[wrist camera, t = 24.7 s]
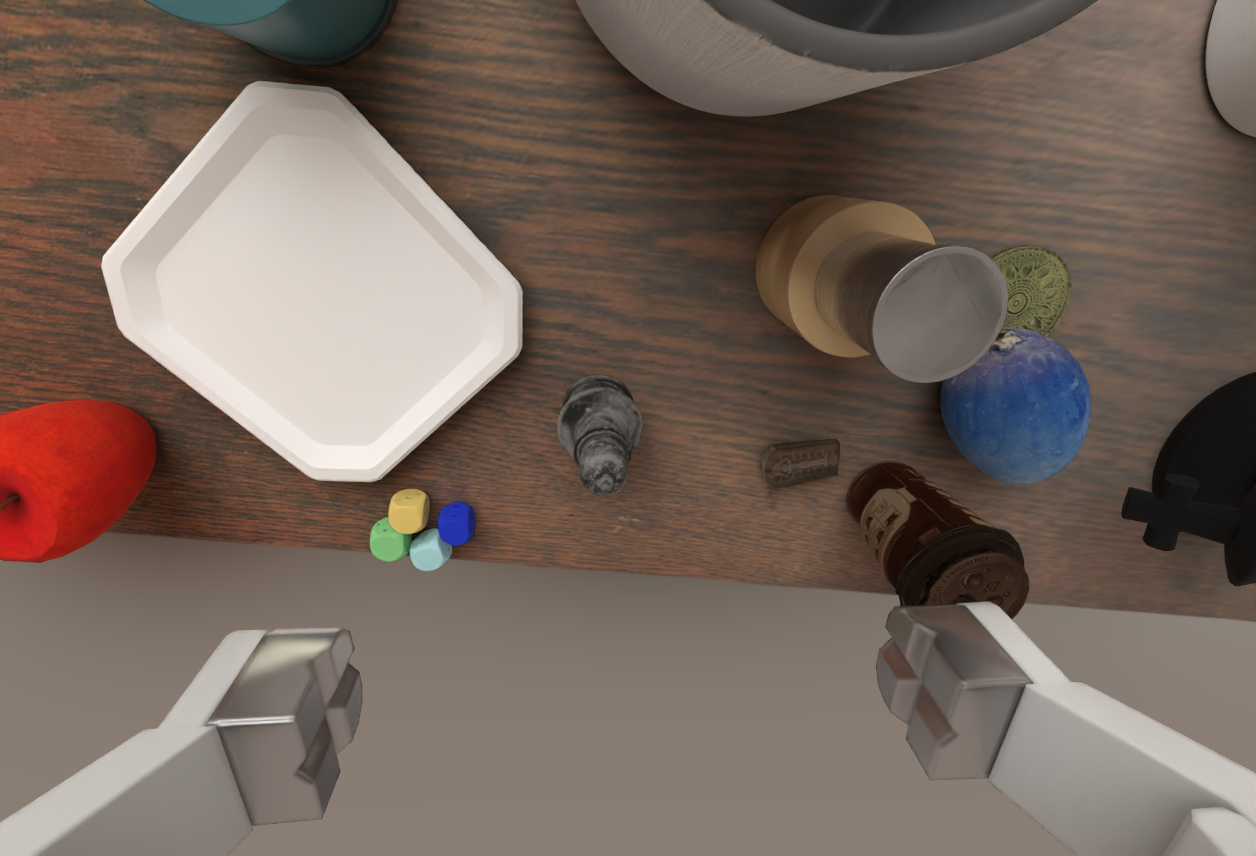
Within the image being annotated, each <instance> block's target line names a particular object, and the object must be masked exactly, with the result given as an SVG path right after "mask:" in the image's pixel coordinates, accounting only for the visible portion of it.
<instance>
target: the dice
mask: <svg viewBox="0 0 1256 856" xmlns="http://www.w3.org/2000/svg"><path fill="white" fill-rule="evenodd" d="M429 506H430V503H429V497H428V496H427V495H426V494H425V493H424V492H423V491H421V490H418V489H405V490H401V491H399V492H397V493H396V494H395V495H393V497H392V499H391V502H390V506H389V514H388V517H386V518H383V519H381V520H379V521H378V522H377V523H376V524H375V525H374V526H373V528H372V531H371V536H370V548H371V552H372V554H373V555H374V556H375V557H377V558H378V559H381V560H383V561H395V560H398V559H400V558H402V557H404V556H405V555H406V554H407V553H408V552H409V551H410V558H411V561H412V563H413V565H414V566H415V567H416V568H418V569H420V570H423V571H432V570H435V569H437V568H439V567H441V566H442V565H444V564H445V563H446V562H447V561H448V559H449V558H450V556H451V554H452V545H461V544H464V543H466V542H468V541H469V540H470V539H471V538H472V537H473V535H474V530H475V516H474V511H473V509H472V507H470V506H469V505H467V504H465V503H462V502H456V503H451V504H449V505H447V506H445V507H444V508H443V509H442V510H441V511H440V514H439V518H438V529H429V530H426V531H424V532H423V533H421V534H420V535H418V536H417V537H416V538H415V539H414V540H413V542H412V533H416V532H418V531H420V530H422V529H423V528H424V527H425V526H426V524H427V521H428V516H429Z"/></svg>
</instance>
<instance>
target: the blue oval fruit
mask: <svg viewBox="0 0 1256 856" xmlns="http://www.w3.org/2000/svg"><path fill="white" fill-rule="evenodd" d="M940 405H941V412H942V417H943V421H944V423H945V427H946V431H947V433H948V434H949V436H950V438H951V440H952V441H953V443H954V445H955V446H956V448H957V449H958V450H959V452H960V453H961V454H962V455H963V456H964V457H965V459H966V460H967V461H968V462H970V463H971V464H972V465H973V466H974V467H976V468H977V469H978V470H979V471H981V472H982V473H984V474H986V475H988V476H989V477H991V478H993V479H995V480H998V481H1001V482H1005V483H1011V484H1023V485H1025V484H1033V483H1037V482H1041V481H1043V480H1045V479H1048V478H1050V477H1052V476H1054V475H1056V474H1057V473H1058V472H1060V471H1061V470H1062V469H1063V468H1065V467H1066V466H1067V465H1068V464H1069V463H1070V462H1071V461H1072V460H1073V458H1074V457H1075V456H1076V454H1077V453H1078V451H1079V449H1080V448H1081V446H1082V444H1083V442H1084V438H1085V436H1086V433H1087V430H1088V427H1089V419H1090V413H1091V410H1090V407H1091V398H1090V392H1089V385H1088V382H1087V379H1086V377H1085V375H1084V373H1083V370H1082V368H1081V366H1080V364H1079V363H1078V362H1077V361H1076V360H1075V359H1074V357H1073V356H1072V355H1071V354H1070V353H1069V351H1068V350H1066V349H1065V348H1064V347H1062V346H1061V345H1060V344H1058V343H1057V342H1055V341H1053V340H1052V339H1050V338H1049V337H1046V336H1043V335H1042V334H1040V333H1039V332H1036V331H1032V330H1027V329H1022V328H1010V329H1001V330H1000V332H999V334H998V336H997V338H996V340H995V341H994V343H993V344H992V345H991V347H990V348H989V350H988V351H987V352H986V353H985V354H984V355H983V356H982V357H981V358H980V359H979V360H978V361H977V362H976V363H975V364H973V365H972V366H971V367H969V368H968V369H966V370H965V371H963V372H961V373H960V374H957V375H955V376H953V377H951V378H948V379H945V380H943V383H942V387H941V394H940Z"/></svg>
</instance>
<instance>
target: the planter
mask: <svg viewBox="0 0 1256 856" xmlns="http://www.w3.org/2000/svg"><path fill="white" fill-rule="evenodd" d="M575 1H576V3H577V5H578V7H579V9H580V10H581V12H582V14H583V15H584V17H585V19H586V20H587V22H588V23H589V25H590V27H591V28H592V29H593V31H594V32H595V34H596V35H597V36H598V38H599V39H600V40H601V42H602V43H603V44H604V45H605V47H606V48H607V49H608V50H609V51H610V53H611V54H612V55H613V56H614V57H615V58H616V59H617V60H618V61H619V62H620V63H621V64H622V65H623V66H624V67H625V68H626V69H627V70H629V71H630V72H631V73H632V74H633V75H634V76H636V77H637V78H638V79H639V80H641V81H642V82H643V83H645V84H646V85H648V86H649V87H650V88H652V89H654V90H655V91H657V92H659V93H660V94H662V95H664V96H666V97H668V98H670V99H672V100H674V101H676V102H678V103H681V104H683V105H686V106H688V107H691V108H694V109H697V110H701V111H705V112H709V113H714V114H720V115H728V116H743V117H751V116H765V115H773V114H779V113H784V112H789V111H793V110H797V109H801V108H804V107H808V106H812V105H815V104H819V103H822V102H826V101H829V100H833V99H836V98H839V97H843V96H846V95H850V94H853V93H857V92H860V91H864V90H867V89H871V88H875V87H878V86H882V85H886V84H889V83H893V82H897V81H901V80H905V79H909V78H912V77H916V76H920V75H924V74H928V73H932V72H936V71H940V70H944V69H948V68H952V67H956V66H959V65H963V64H966V63H970V62H973V61H977V60H980V59H983V58H986V57H989V56H992V55H995V54H997V53H1000V52H1003V51H1005V50H1008V49H1010V48H1013V47H1015V46H1018V45H1020V44H1022V43H1024V42H1026V41H1029V40H1031V39H1033V38H1035V37H1037V36H1039V35H1041V34H1043V33H1045V32H1047V31H1049V30H1051V29H1053V28H1054V27H1056V26H1058V25H1060V24H1062V23H1063V22H1065V21H1067V20H1068V19H1070V18H1072V17H1073V16H1075V15H1077V14H1078V13H1080V12H1081V11H1083V10H1084V9H1086V8H1087V7H1089V6H1090V5H1092V4H1093V3H1095V2H1096V1H1098V0H575Z"/></svg>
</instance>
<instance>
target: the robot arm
mask: <svg viewBox="0 0 1256 856" xmlns="http://www.w3.org/2000/svg"><path fill="white" fill-rule="evenodd" d="M1206 75H1207V82H1208V87H1209V90H1210V94H1211V97H1212V99H1213V102H1214V104H1215V106H1216V108H1217V109H1218V111H1219V112H1220V114H1221V115H1222V117H1223V118H1224V119H1225V120H1226V121H1227V122H1228V123H1229V124H1230V125H1231V126H1233V127H1234V128H1235V129H1237V130H1238V131H1240V132H1242V133H1244V134H1247V135H1250V136H1253V137H1256V0H1217V2H1216V5H1215V8H1214V11H1213V15H1212V18H1211V22H1210V27H1209V32H1208V38H1207V46H1206ZM885 627H886V629H887V630H888V632H889V633H890V635H891V637H892V638H891V639H890V640H888V641H887V642H886V643H885V644H884V645H883V646H882V647H881V648H880V649H879V654H878V659H877V663H876V670H877V679H878V685H879V688H880V691H881V694H882V697H883V699H884V701H885V703H886V705H887V706H888V708H889V710H890V712H891V713H892V714H894V715H895V716H896V717H898V718H899V719H901V720H902V721H903V722H905V723H906V724H908V729H907V735H906V740H907V742H908V743H909V745H910V747H911V749H912V750H913V752H914V754H915V755H916V757H917V758H918V761H919V762H920V764H921V766H922V767H923V769H924V771H925V773H926V774H927V776H928V778H929V779H930V780H952V779H983V778H988V782H989V783H990V784H991V785H992V786H993V787H994V788H996V789H997V790H998V791H999V792H1000V793H1002V794H1003V795H1004V796H1005V797H1006V798H1008V799H1009V800H1010V801H1011V802H1012V803H1014V804H1015V805H1016V806H1017V807H1019V808H1020V809H1021V810H1022V811H1023V812H1024V813H1026V814H1027V815H1028V816H1029V817H1030V818H1031V819H1033V820H1034V821H1035V822H1036V823H1037V824H1039V825H1040V826H1041V827H1042V828H1043V829H1045V830H1046V831H1047V832H1048V833H1049V834H1051V835H1052V836H1053V837H1054V838H1055V839H1057V840H1058V841H1059V842H1060V843H1061V844H1063V845H1064V846H1065V847H1066V848H1067V849H1069V850H1070V851H1071V852H1072V853H1073V854H1075V855H1076V856H1256V773H1254V772H1252V771H1250V770H1248V769H1247V768H1245V767H1243V766H1241V765H1239V764H1237V763H1235V762H1233V761H1231V760H1229V759H1228V758H1226V757H1224V756H1222V755H1220V754H1218V753H1216V752H1214V751H1212V750H1211V749H1209V748H1207V747H1205V746H1203V745H1201V744H1199V743H1197V742H1195V741H1193V740H1192V739H1190V738H1188V737H1186V736H1184V735H1182V734H1180V733H1178V732H1176V731H1174V730H1172V729H1170V728H1168V727H1167V726H1165V725H1163V724H1161V723H1159V722H1157V721H1155V720H1153V719H1151V718H1149V717H1148V716H1146V715H1144V714H1142V713H1140V712H1138V711H1136V710H1134V709H1133V708H1130V707H1129V706H1127V705H1125V704H1123V703H1121V702H1119V701H1117V700H1115V699H1113V698H1112V697H1109V696H1108V695H1106V694H1104V693H1102V692H1100V691H1098V690H1096V689H1094V688H1092V687H1091V686H1089V685H1087V684H1085V683H1083V682H1071V681H1070V680H1069V679H1068V678H1067V677H1066V676H1065V675H1064V674H1063V673H1062V672H1061V671H1060V670H1059V669H1058V668H1057V666H1056V665H1055V664H1054V663H1053V662H1052V661H1051V660H1050V659H1049V658H1048V657H1047V656H1046V655H1045V654H1044V653H1043V652H1042V651H1041V650H1040V649H1039V648H1038V647H1037V646H1036V645H1035V644H1034V642H1032V640H1031V639H1030V638H1029V637H1028V636H1027V635H1026V634H1025V633H1024V632H1023V631H1022V630H1021V629H1020V628H1019V627H1018V626H1017V625H1016V624H1015V623H1014V622H1013V621H1012V620H1011V619H1010V617H1009V616H1008V615H1007V614H1006V613H1005V612H1004V611H1003V610H1002V609H1001V608H1000V607H999V606H997V605H995V604H993V603H991V602H971V603H957V604H941V605H920V606H898V607H894V608H893V609H892V611H891V612H890V613H889V615H888V619H887V623H886V626H885ZM353 651H354V645H353V642H352V637H351V633H350V631H349V630H347V629H345V628H308V629H307V628H305V629H273V630H236V631H234V632H232V633H231V634H229V635H227V636H226V637H225V638H224V639H223V640H222V642H221V643H220V644H219V646H218V647H217V648H216V650H215V651H214V653H213V654H212V655H211V657H210V658H209V659H208V660H207V662H206V663H205V665H204V666H203V667H202V669H201V670H200V671H199V673H198V674H197V675H196V677H195V678H194V679H193V681H192V682H191V684H190V685H189V686H188V688H187V689H186V690H185V692H184V693H183V694H182V696H181V697H180V699H179V700H178V701H177V703H176V704H175V705H174V707H173V708H172V709H171V711H170V712H169V713H168V715H167V716H166V717H165V719H164V720H163V721H162V723H161V724H160V726H159V727H158V728H157V729H145V730H143V731H141V732H140V733H139V734H137V735H135V736H134V737H132V738H130V739H129V740H127V741H126V742H124V743H123V744H121V745H120V746H118V747H117V748H115V749H113V750H112V751H110V752H109V753H107V754H106V755H104V756H103V757H101V758H99V759H98V760H96V761H95V762H93V763H92V764H90V765H89V766H87V767H86V768H84V769H82V770H81V771H79V772H78V773H76V774H75V775H73V776H71V777H70V778H69V779H67V780H65V781H64V782H62V783H61V784H59V785H58V786H56V787H54V788H53V789H51V790H50V791H48V792H47V793H45V794H44V795H42V796H41V797H39V798H37V799H36V800H34V801H33V802H31V803H30V804H28V805H26V806H25V807H24V808H22V809H20V810H19V811H17V812H16V813H14V814H13V815H11V816H10V817H8V818H6V819H5V820H3V821H2V822H0V856H228V855H229V854H230V853H231V852H232V851H233V850H234V849H235V848H236V847H237V846H238V845H239V844H240V843H241V841H243V840H244V839H245V838H246V836H248V835H249V833H250V832H251V831H252V830H253V828H252V826H256V825H265V824H277V823H288V822H299V821H308V820H319V819H322V818H323V815H324V813H325V810H326V807H327V805H328V802H329V800H330V797H331V795H332V792H333V789H334V787H335V784H336V782H337V779H338V777H339V774H340V767H339V763H338V759H337V754H338V753H340V752H341V751H342V750H343V749H344V748H345V747H346V746H347V745H349V744H350V743H351V742H352V740H353V737H354V734H355V731H356V729H357V726H358V723H359V718H360V712H361V706H362V683H361V677H360V672H359V671H358V670H356V669H355V668H354V667H353V666H352V665H350V664H349V663H348V662H349V660H350V658H351V656H352V653H353Z"/></svg>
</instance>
